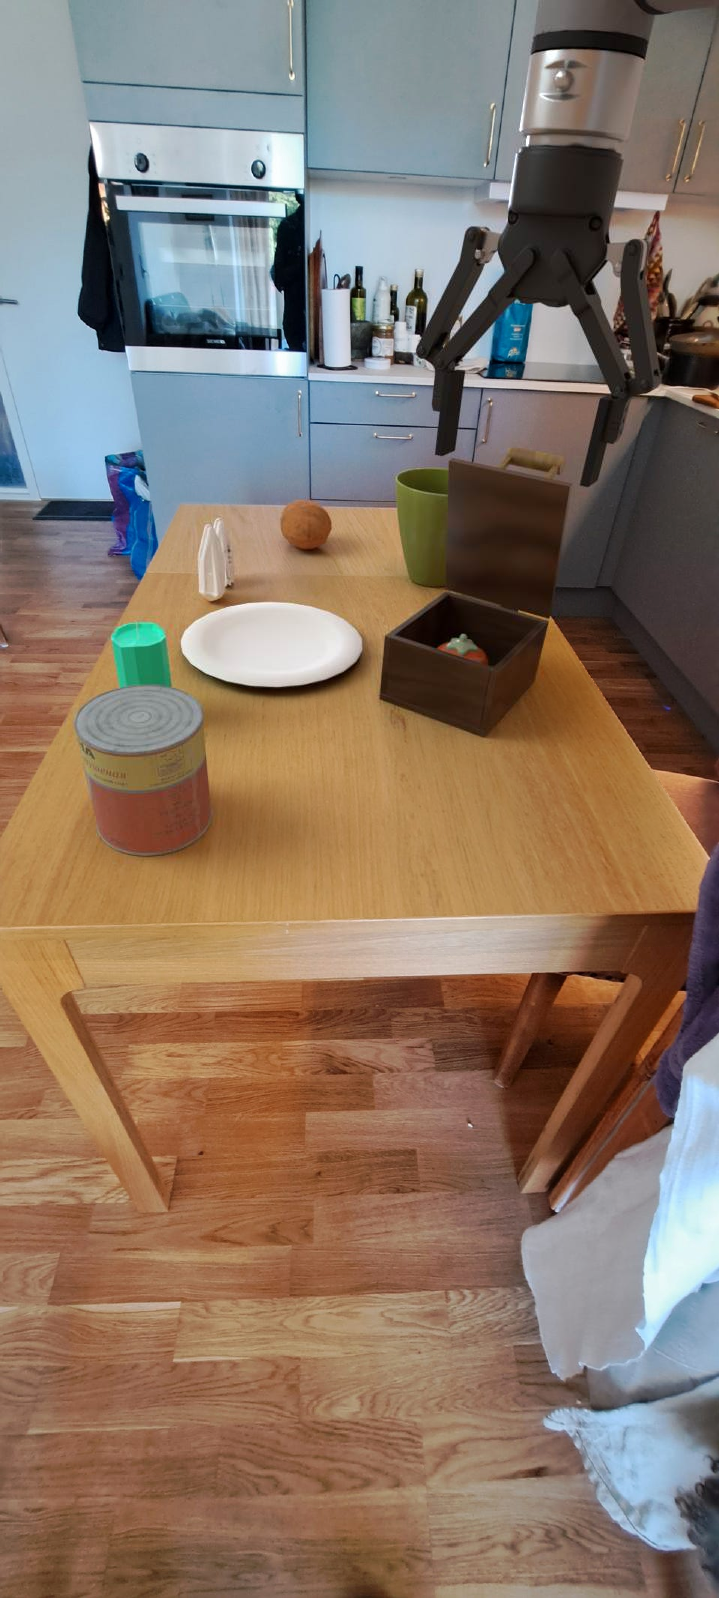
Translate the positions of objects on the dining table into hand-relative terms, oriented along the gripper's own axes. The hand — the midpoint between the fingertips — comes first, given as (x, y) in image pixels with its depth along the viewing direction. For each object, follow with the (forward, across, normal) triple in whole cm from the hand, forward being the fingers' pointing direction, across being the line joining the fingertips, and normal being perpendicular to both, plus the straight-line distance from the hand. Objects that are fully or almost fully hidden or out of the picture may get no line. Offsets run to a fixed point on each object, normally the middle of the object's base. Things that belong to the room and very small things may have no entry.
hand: (514, 467), depth 65 cm
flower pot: (+32, -27, +45) cm, 62 cm away
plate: (+32, -33, +8) cm, 47 cm away
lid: (+14, -7, +20) cm, 25 cm away
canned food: (+32, -21, -28) cm, 47 cm away
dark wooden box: (+32, -7, +14) cm, 35 cm away
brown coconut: (+32, -52, +44) cm, 75 cm away
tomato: (+31, -7, +12) cm, 34 cm away
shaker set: (+32, -52, +18) cm, 64 cm away
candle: (+32, -35, -14) cm, 49 cm away
